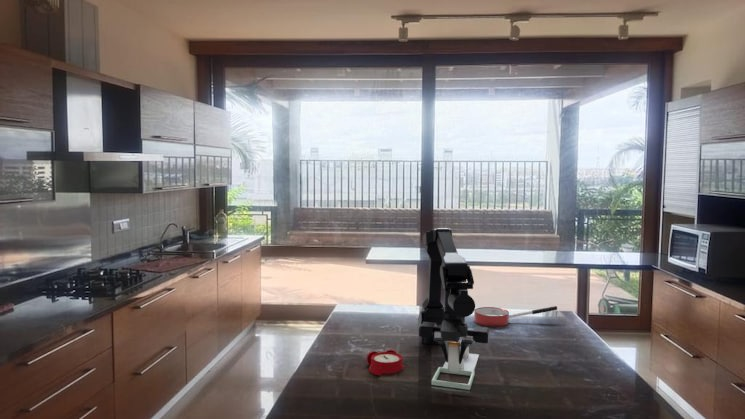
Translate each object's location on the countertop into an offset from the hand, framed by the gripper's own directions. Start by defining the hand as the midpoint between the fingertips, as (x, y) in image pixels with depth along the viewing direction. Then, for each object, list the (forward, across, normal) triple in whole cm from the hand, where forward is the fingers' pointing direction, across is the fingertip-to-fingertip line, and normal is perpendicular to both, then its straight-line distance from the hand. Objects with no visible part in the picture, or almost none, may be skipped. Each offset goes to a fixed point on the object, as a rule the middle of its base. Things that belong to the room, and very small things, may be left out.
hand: (453, 362), depth 142 cm
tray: (+6, 0, 0) cm, 6 cm away
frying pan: (+6, +13, +67) cm, 69 cm away
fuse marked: (+2, 0, 0) cm, 2 cm away
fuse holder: (+6, 0, +14) cm, 15 cm away
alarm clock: (+6, -21, +5) cm, 23 cm away
